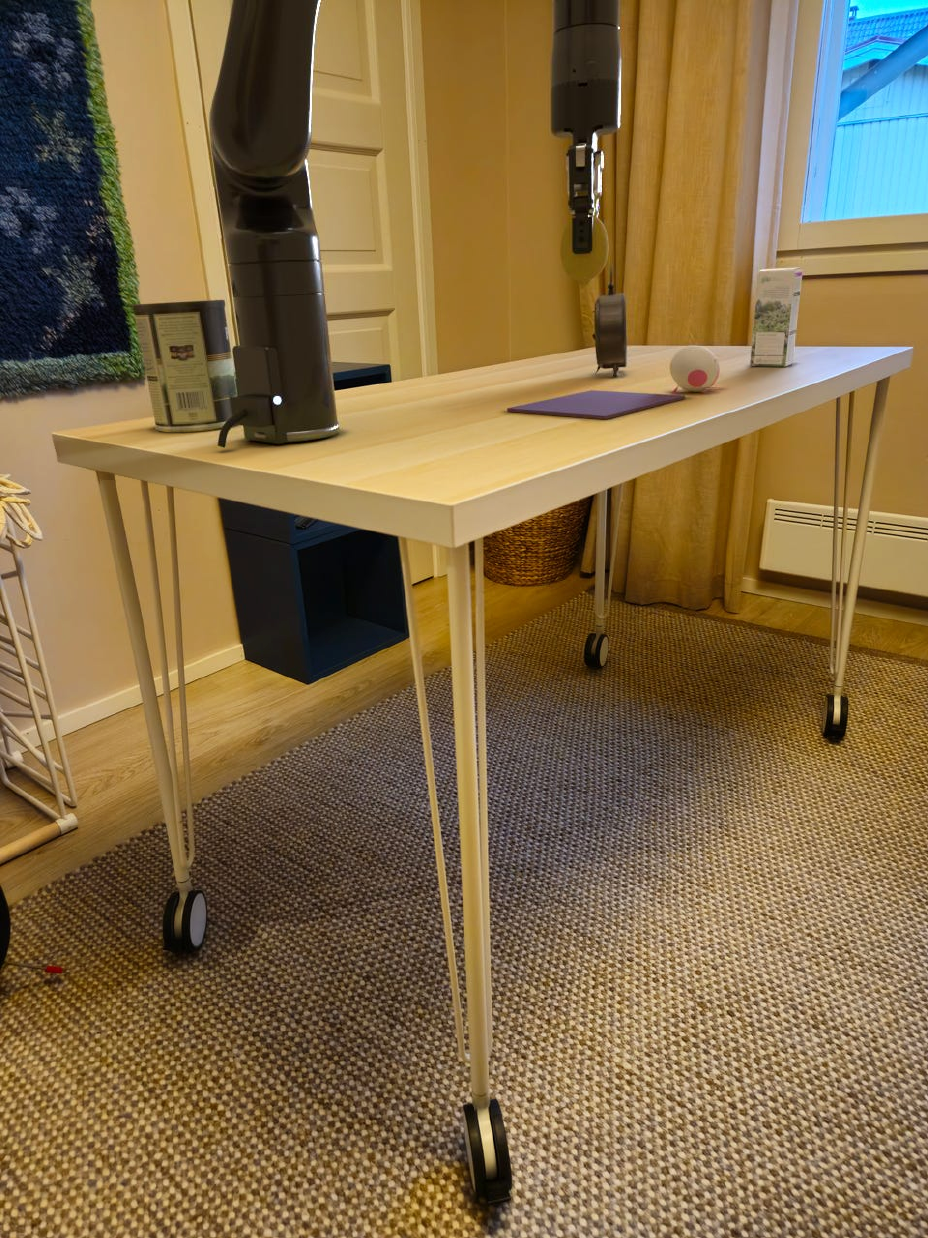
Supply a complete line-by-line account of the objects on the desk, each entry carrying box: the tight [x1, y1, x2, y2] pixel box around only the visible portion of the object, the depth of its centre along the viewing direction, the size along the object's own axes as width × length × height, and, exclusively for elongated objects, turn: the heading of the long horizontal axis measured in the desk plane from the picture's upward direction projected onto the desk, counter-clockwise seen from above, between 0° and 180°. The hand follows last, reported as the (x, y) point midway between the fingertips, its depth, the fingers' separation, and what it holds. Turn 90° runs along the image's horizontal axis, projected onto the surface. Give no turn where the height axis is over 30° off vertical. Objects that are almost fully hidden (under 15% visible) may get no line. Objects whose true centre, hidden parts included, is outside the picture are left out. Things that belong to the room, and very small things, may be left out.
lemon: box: [559, 215, 610, 287], centre depth 95 cm, size 6×6×8 cm
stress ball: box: [669, 345, 721, 394], centre depth 108 cm, size 8×8×7 cm
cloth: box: [506, 389, 686, 420], centre depth 101 cm, size 18×14×1 cm
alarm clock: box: [591, 263, 628, 378], centre depth 129 cm, size 11×5×16 cm, turn 168°
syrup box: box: [749, 266, 803, 367], centre depth 131 cm, size 6×6×14 cm
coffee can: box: [131, 299, 238, 433], centre depth 98 cm, size 10×10×14 cm
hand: (584, 253), depth 95 cm, fingers closed on lemon, 5 cm apart
